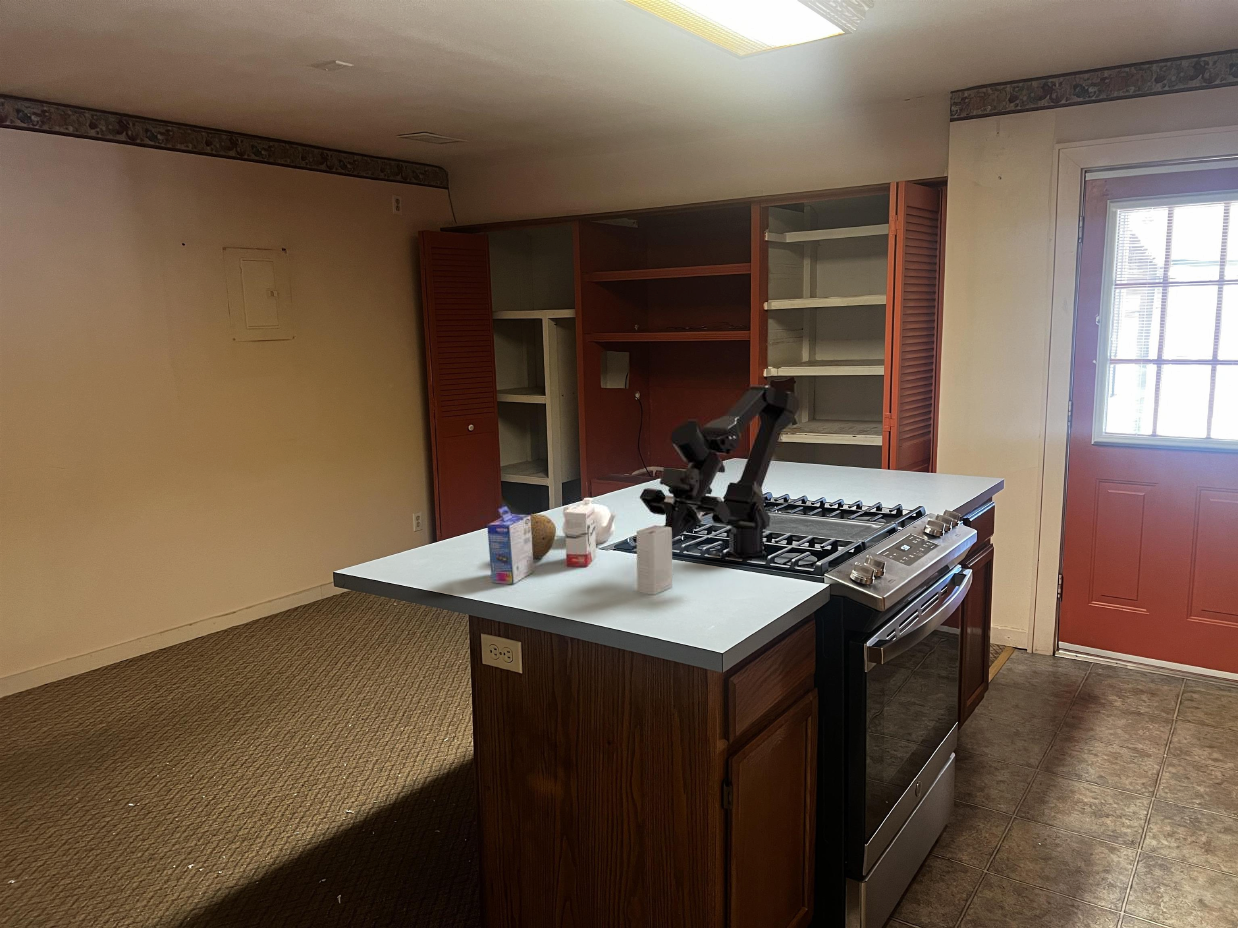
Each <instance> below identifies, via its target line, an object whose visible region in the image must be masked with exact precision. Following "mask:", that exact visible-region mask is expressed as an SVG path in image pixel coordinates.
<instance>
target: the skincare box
mask: <svg viewBox="0 0 1238 928" xmlns="http://www.w3.org/2000/svg"><path fill="white" fill-rule="evenodd" d="M636 582H637V583H636V586H637V587H636V589H637V592H639V593H643V594H647V595H657V594H659V593H661V592H664V591H667V590H669V589H671V588H673V540H672V528H671V527H665V525H664V526H663V525H656V524H655V525H652V526H649V527H646V528H643V529H639V530H636Z"/></svg>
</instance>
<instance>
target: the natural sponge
mask: <svg viewBox="0 0 1238 928" xmlns="http://www.w3.org/2000/svg"><path fill="white" fill-rule="evenodd" d="M529 515H530V521H531V536H532V552H533V559H542V558H544V557H545V556H546V555H547V554H549V552H550V551H551V550H552V548H553V545H554V542H555V540H556V539H555V538H556V535H557V527H556V525H555V523H554V522H553V520H551V519H550V517H548V516H547V515H544V514H541V513H531V514H529Z"/></svg>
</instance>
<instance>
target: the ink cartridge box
mask: <svg viewBox="0 0 1238 928" xmlns="http://www.w3.org/2000/svg"><path fill="white" fill-rule="evenodd" d="M497 511H498V513H499V515H500V517H501V518H500V517H499V518H498V519H496V520H495V521H493V522H490V523H489V524H487V526H486V527H487V540H488V553H489V554H488V555H489V563H490V574H491V576H490V577H491V583H492V582H493V583H494V584H495V583H496V584H503V585H504V584H505V585H515V584H516V583H518V582H519V581H521V580H523V579H524V578H526V577H527V576H528V575H530V574H532V573H533V572H534V569H535V568H534V557H533V552H532V536H531V521H530V515H531V514H515V513H511V511H510V509H509V508H508V507H507V506H502V507H501V508H498V509H497ZM504 511H506V512H507V513H505V514H503V512H504ZM493 583H492V584H493Z"/></svg>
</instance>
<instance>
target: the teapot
mask: <svg viewBox="0 0 1238 928" xmlns="http://www.w3.org/2000/svg"><path fill="white" fill-rule="evenodd" d="M592 501H593V498H592V497H585V498H583V502H584V503H583V504H581V505H586V506H595V537H596V545H598V544H602V543H603V544H604V543H606V542H607V541H609V539H610V538H611V537H612V535H613V534H614V532H615V523H614V520H615V518H616V517H617V516H618V514H617V513H611V512H610V510H609V508H608V507H607V506H605V505H602V504H599V503H598V504H597V503H596V504H595V503H592ZM570 507H571V506H567V507H564V508H563V510H562V515H563V518H564V521H563V524H562V534H563V535H564V536H565V537H566V534H565V511H566V510H568V509H569V508H570Z"/></svg>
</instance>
